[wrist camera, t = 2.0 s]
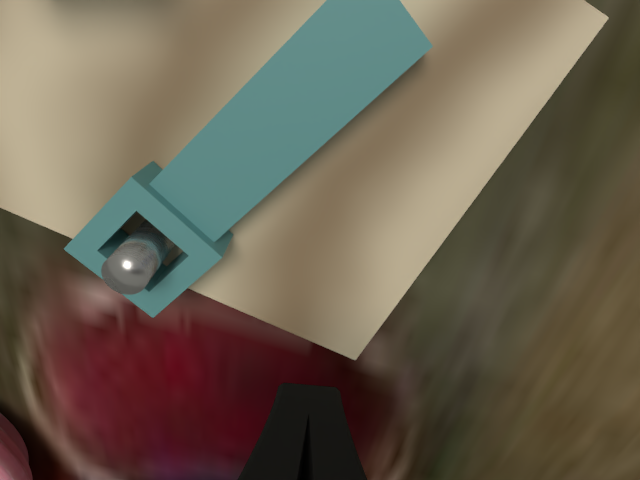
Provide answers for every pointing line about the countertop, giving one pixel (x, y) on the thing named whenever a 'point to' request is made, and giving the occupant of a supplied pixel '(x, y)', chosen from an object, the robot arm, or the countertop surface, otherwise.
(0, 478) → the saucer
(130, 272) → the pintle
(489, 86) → the base board
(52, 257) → the countertop surface
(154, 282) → the link
